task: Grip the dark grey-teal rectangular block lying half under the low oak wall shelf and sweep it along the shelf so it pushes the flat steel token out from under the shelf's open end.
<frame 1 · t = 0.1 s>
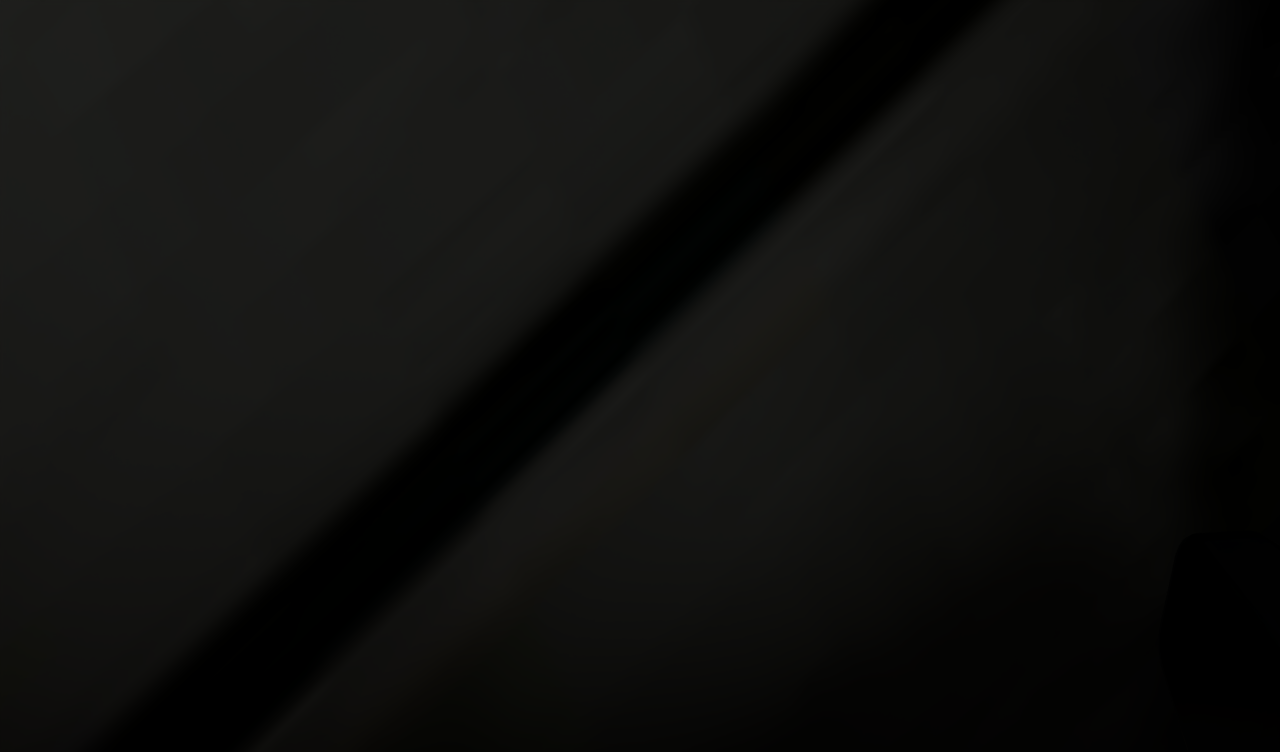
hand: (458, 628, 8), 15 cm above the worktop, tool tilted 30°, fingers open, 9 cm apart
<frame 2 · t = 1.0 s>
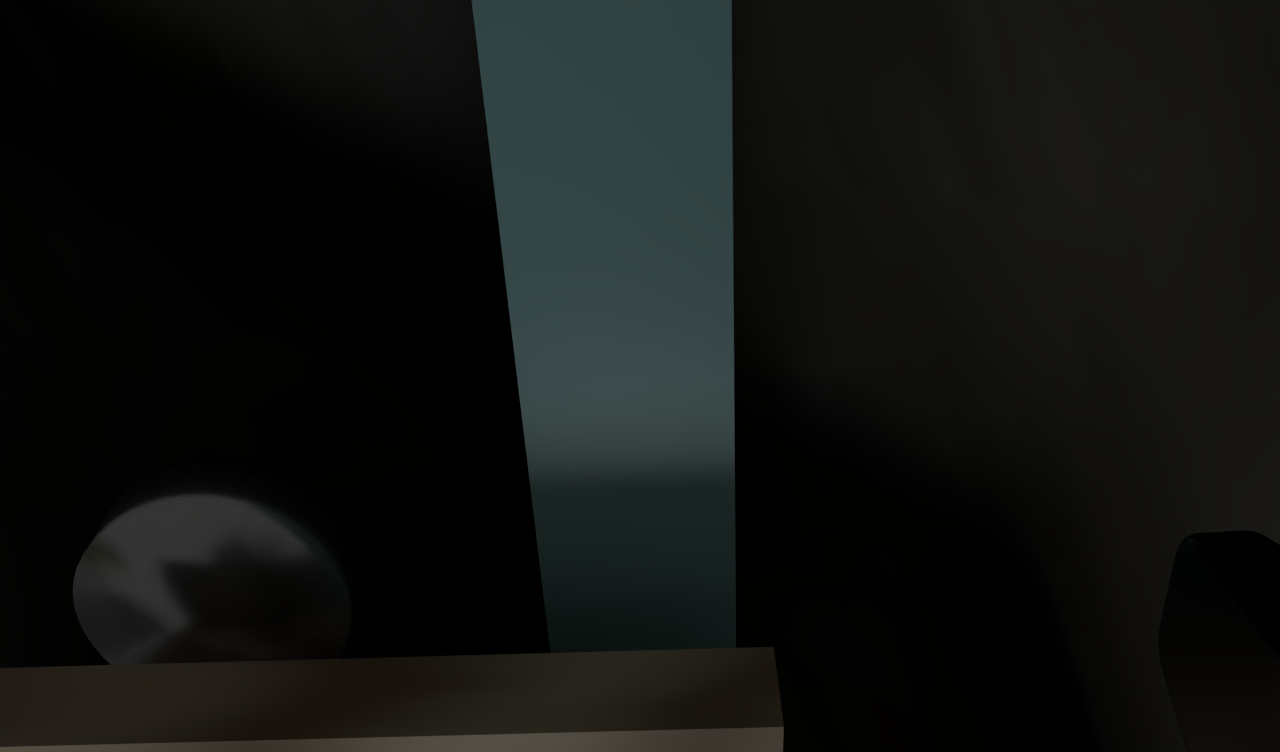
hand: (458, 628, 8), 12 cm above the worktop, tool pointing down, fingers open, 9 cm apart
steel token: (236, 559, 24), on the worktop
dark grey-teal rectangular block: (634, 322, 21), on the worktop
oak plinth shelf: (372, 622, 24), on the worktop
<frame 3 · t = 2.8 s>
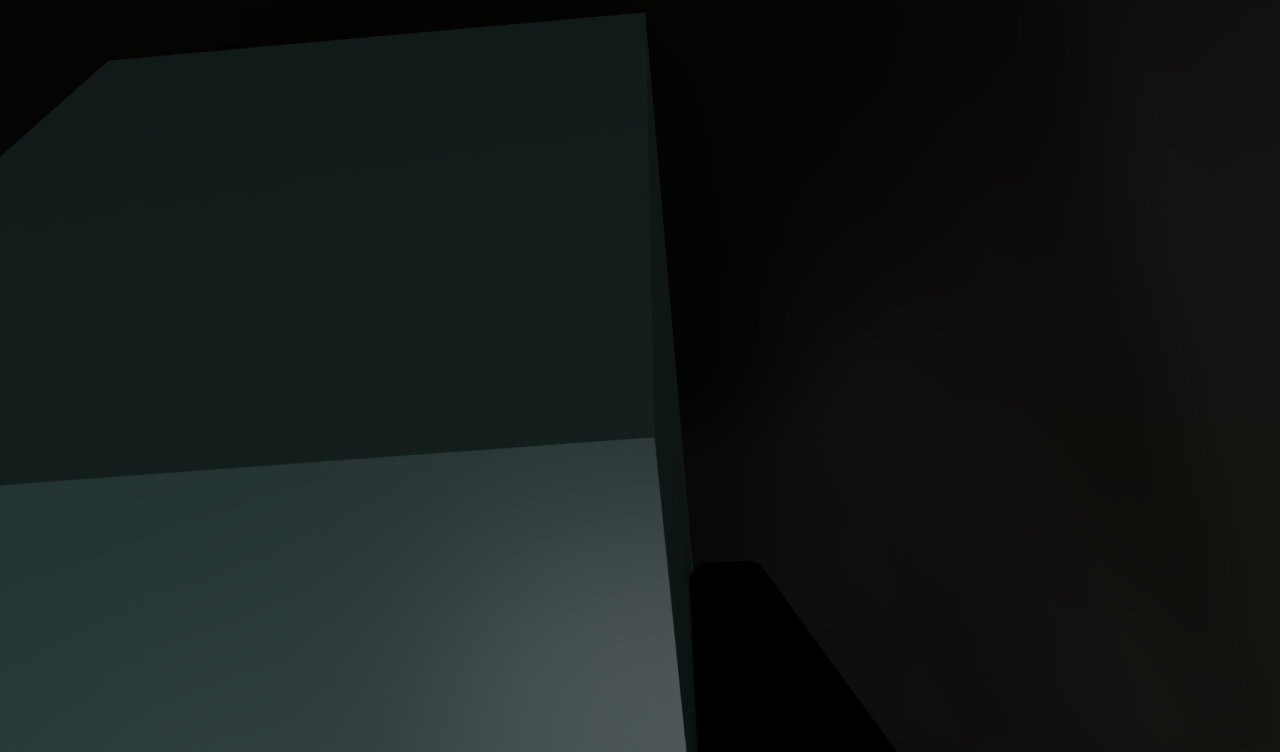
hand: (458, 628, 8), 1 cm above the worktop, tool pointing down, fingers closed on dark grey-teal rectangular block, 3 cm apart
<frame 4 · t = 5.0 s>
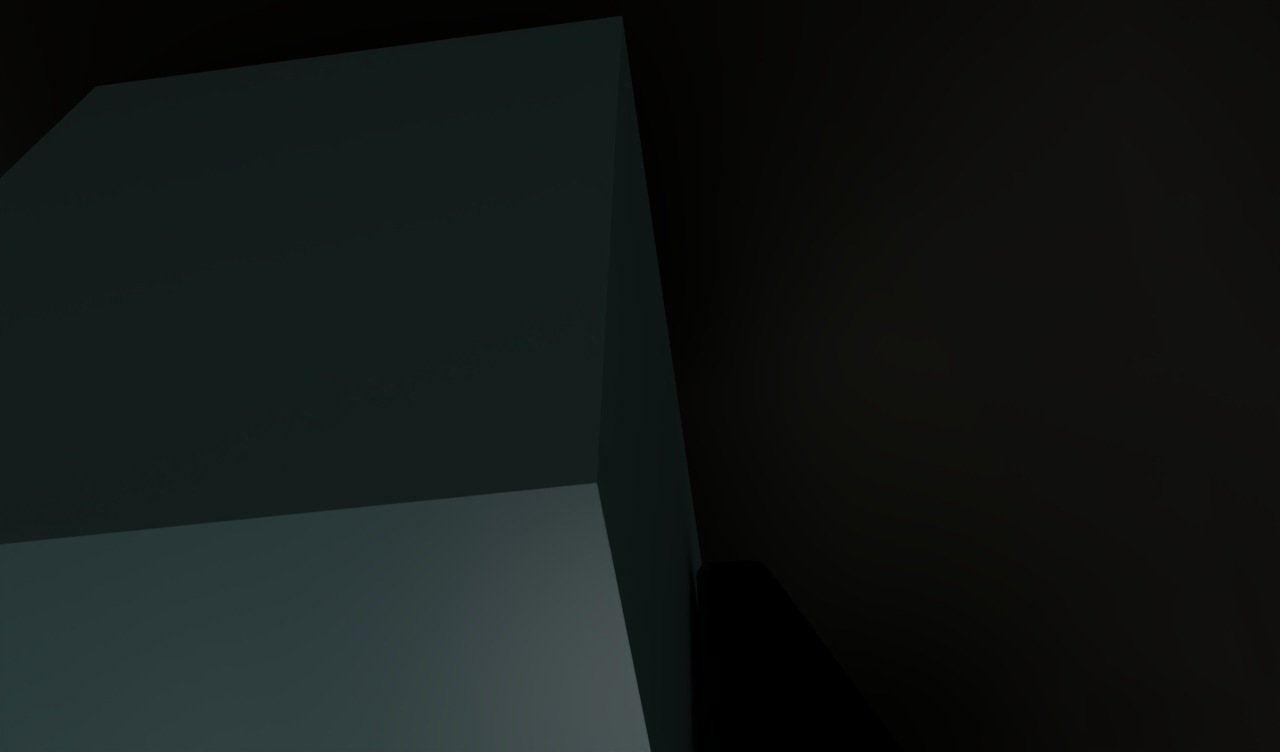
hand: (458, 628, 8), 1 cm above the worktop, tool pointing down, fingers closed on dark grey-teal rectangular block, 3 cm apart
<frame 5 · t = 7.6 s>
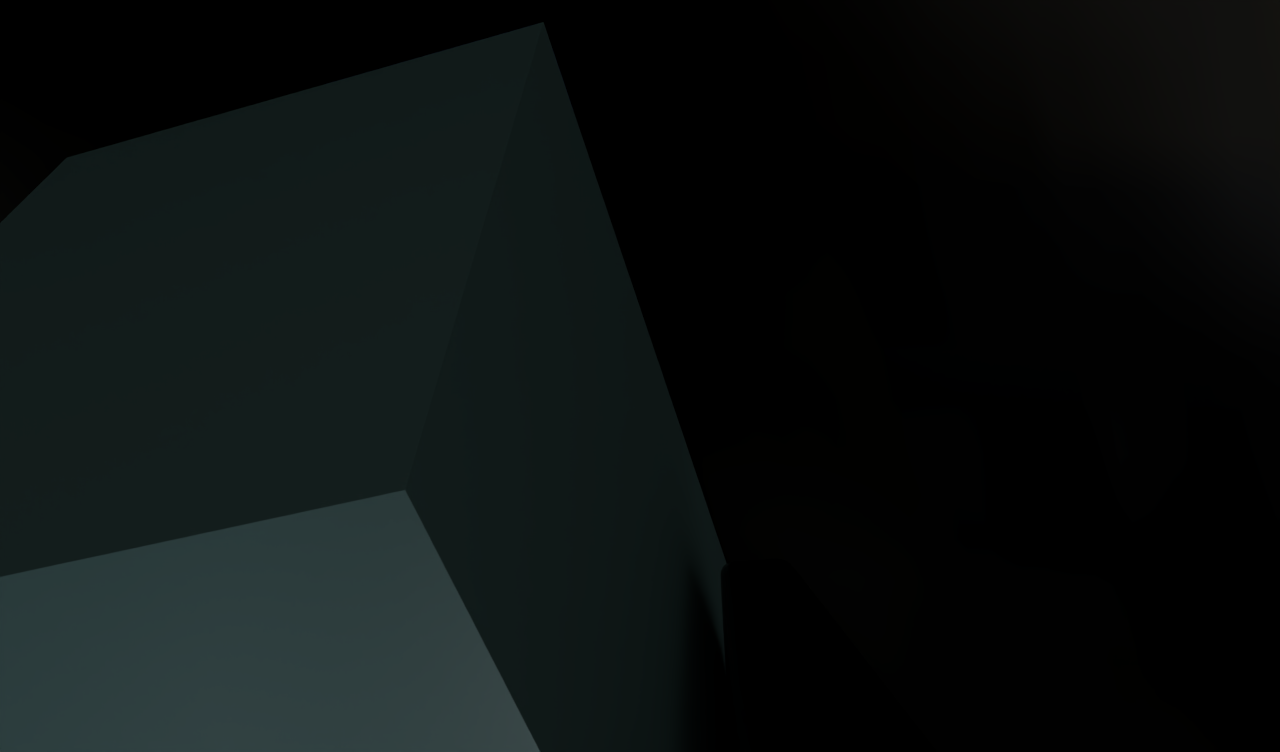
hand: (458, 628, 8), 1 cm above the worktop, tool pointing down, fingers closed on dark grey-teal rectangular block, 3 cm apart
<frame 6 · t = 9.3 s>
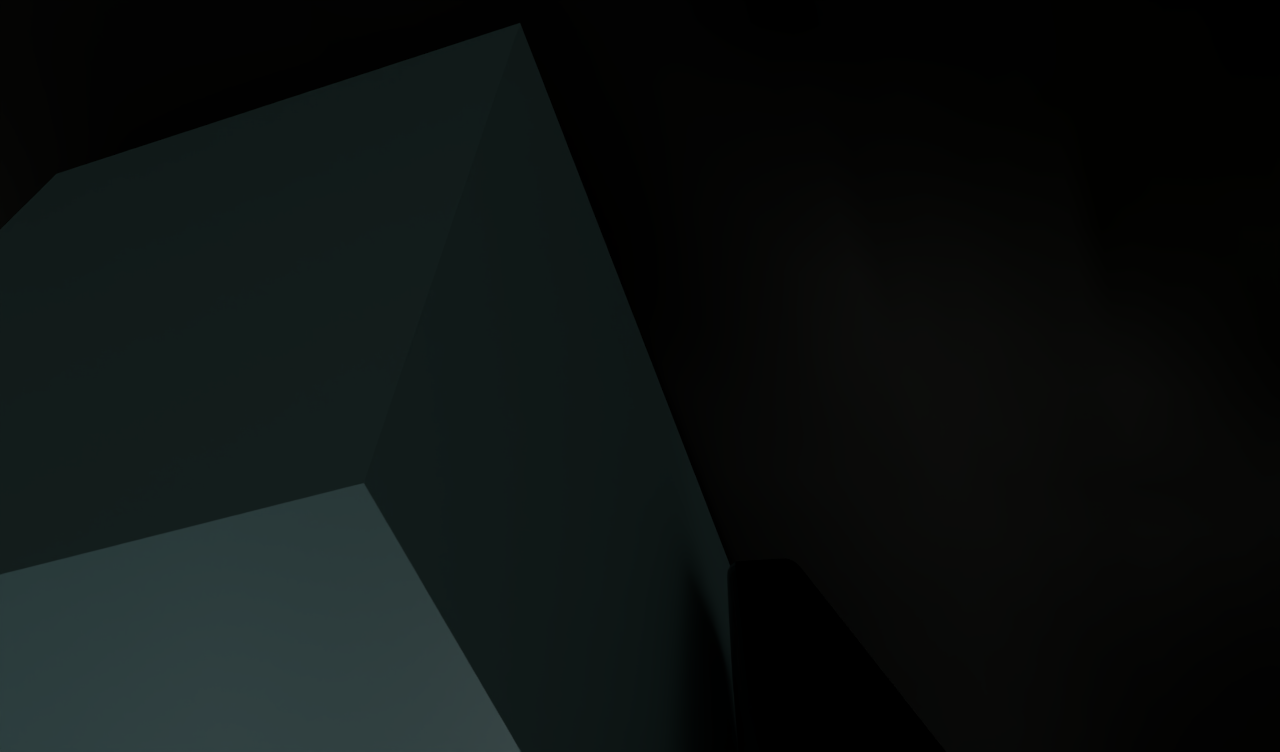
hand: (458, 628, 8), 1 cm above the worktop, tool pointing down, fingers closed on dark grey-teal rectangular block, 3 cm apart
when the fingers open (1 cm above the worktop, at t = 11.0 s): dark grey-teal rectangular block stays where it is, on the worktop.
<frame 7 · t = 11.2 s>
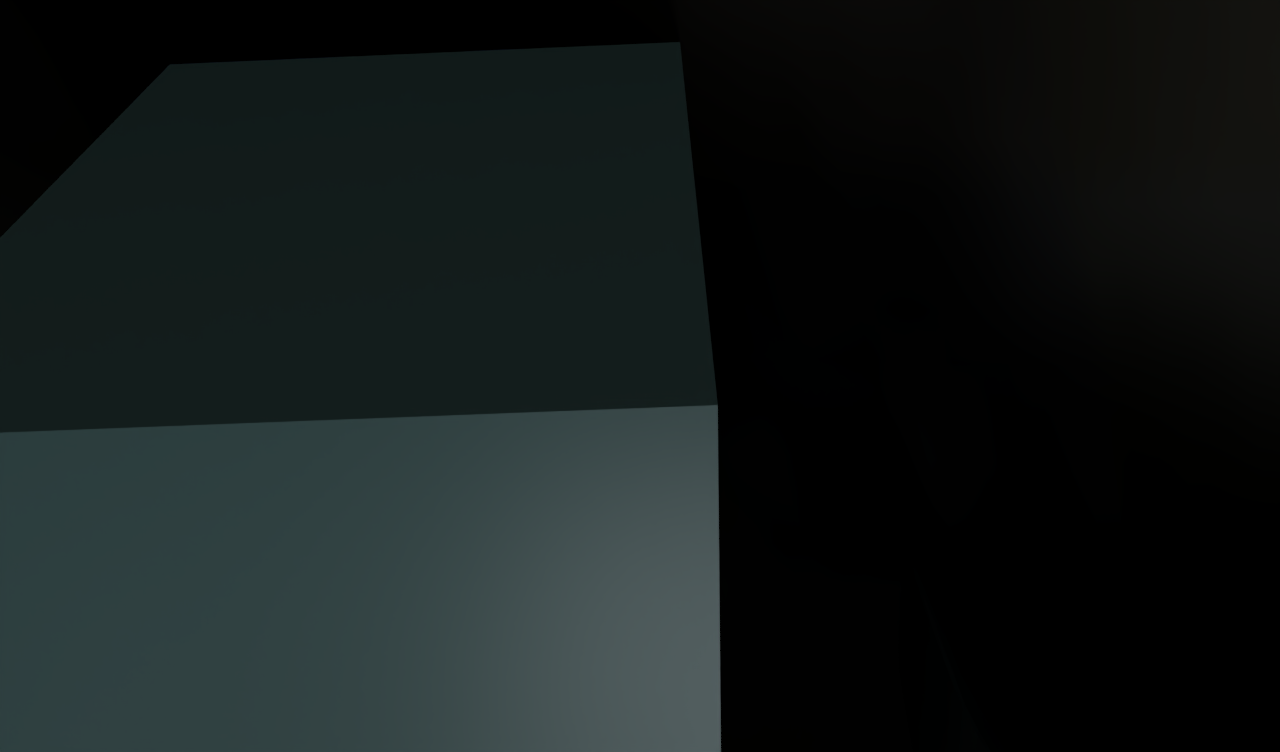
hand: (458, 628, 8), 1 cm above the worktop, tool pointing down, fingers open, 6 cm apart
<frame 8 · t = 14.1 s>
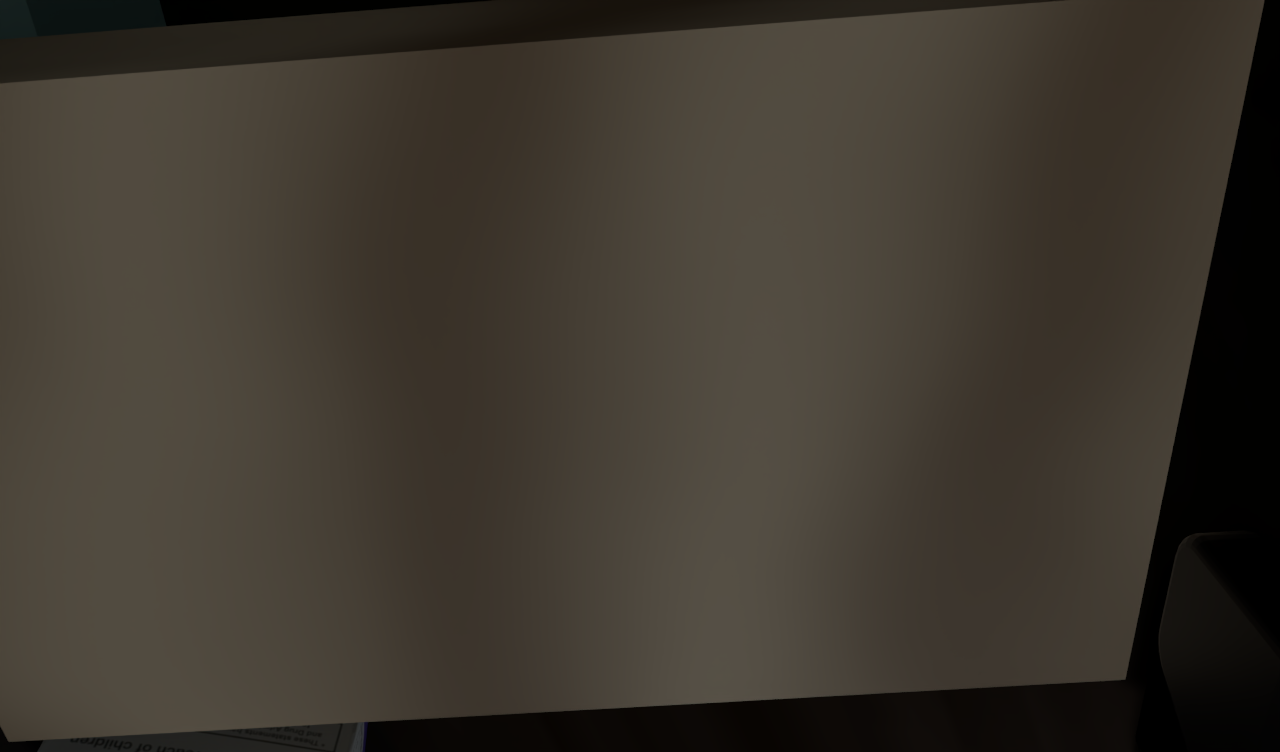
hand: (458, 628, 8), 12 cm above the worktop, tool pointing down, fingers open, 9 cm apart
oak plinth shelf: (542, 168, 19), on the worktop
supplement box: (230, 742, 26), on the worktop
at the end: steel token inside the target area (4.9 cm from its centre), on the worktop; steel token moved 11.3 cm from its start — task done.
